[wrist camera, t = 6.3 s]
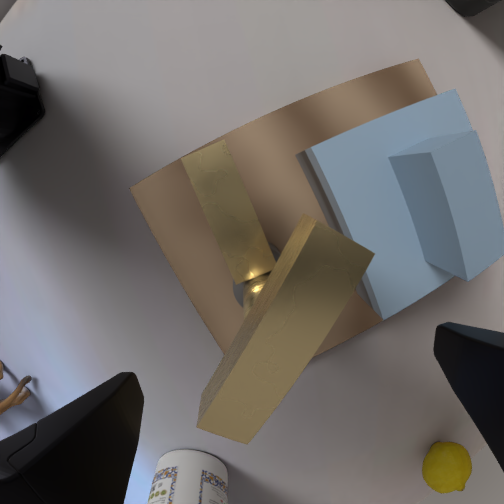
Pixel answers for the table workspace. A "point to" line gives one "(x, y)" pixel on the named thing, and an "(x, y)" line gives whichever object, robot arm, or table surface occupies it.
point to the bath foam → (189, 479)
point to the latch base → (272, 194)
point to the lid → (413, 199)
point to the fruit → (447, 467)
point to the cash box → (471, 6)
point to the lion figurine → (14, 393)
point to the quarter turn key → (268, 297)
